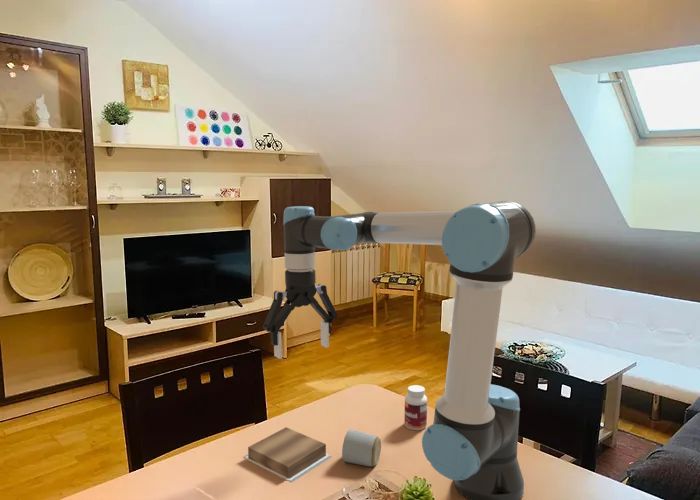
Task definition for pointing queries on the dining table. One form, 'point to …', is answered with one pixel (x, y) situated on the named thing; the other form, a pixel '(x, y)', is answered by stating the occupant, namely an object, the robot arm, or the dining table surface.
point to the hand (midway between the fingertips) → (302, 351)
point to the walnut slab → (287, 452)
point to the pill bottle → (415, 408)
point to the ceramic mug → (361, 448)
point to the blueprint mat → (297, 473)
